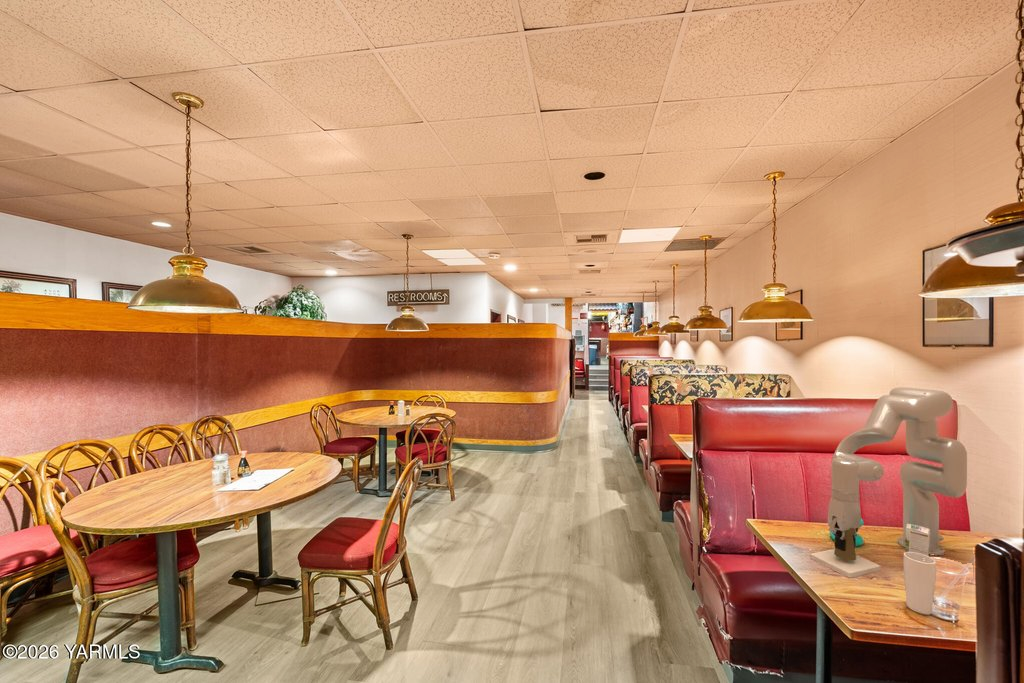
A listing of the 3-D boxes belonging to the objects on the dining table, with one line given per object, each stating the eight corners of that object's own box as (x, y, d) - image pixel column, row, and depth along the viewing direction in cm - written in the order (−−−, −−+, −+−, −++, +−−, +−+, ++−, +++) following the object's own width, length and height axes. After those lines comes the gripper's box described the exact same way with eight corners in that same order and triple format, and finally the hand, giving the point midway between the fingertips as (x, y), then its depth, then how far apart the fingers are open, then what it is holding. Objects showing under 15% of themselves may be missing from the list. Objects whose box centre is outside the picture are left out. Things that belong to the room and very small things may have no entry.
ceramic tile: (840, 551, 153) (840, 547, 153) (880, 570, 140) (880, 565, 140) (810, 558, 148) (810, 553, 148) (849, 578, 136) (849, 573, 136)
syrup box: (905, 564, 144) (905, 522, 144) (929, 571, 140) (929, 528, 140) (904, 571, 140) (904, 527, 140) (929, 578, 136) (929, 533, 136)
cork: (860, 561, 141) (860, 528, 141) (840, 559, 142) (840, 527, 142) (849, 552, 147) (849, 521, 146) (830, 550, 148) (830, 519, 148)
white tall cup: (896, 602, 123) (896, 551, 123) (917, 601, 123) (917, 551, 123) (920, 618, 116) (921, 564, 116) (943, 616, 117) (943, 563, 117)
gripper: (850, 488, 150) (850, 539, 150) (816, 494, 145) (816, 546, 145) (874, 496, 143) (873, 549, 143) (839, 502, 138) (839, 557, 138)
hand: (845, 547), depth 144 cm, fingers closed on cork, 4 cm apart
